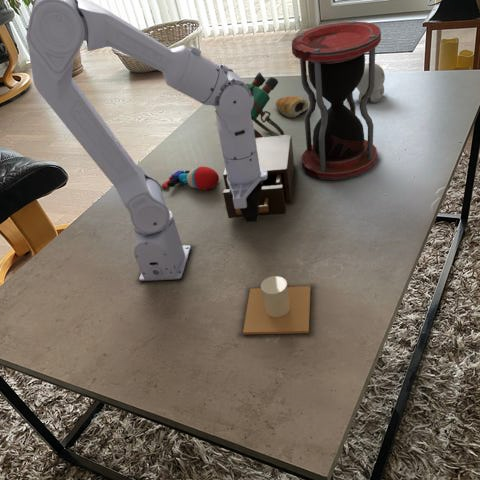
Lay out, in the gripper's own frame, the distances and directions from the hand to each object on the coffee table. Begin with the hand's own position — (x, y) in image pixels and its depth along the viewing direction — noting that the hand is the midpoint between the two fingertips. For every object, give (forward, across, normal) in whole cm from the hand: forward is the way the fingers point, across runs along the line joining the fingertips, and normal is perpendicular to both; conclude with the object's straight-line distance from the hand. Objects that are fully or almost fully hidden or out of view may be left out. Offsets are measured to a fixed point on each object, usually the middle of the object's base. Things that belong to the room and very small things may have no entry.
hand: (252, 220), depth 90 cm
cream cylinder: (+3, -21, -6) cm, 22 cm away
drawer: (+3, +10, 0) cm, 10 cm away
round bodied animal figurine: (+4, +57, -22) cm, 62 cm away
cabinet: (+3, +17, 0) cm, 18 cm away
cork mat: (+3, -21, -6) cm, 22 cm away
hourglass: (+4, +25, -16) cm, 30 cm away
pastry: (+4, +54, -4) cm, 55 cm away
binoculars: (+4, +37, +4) cm, 38 cm away
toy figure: (+4, +20, +16) cm, 26 cm away
